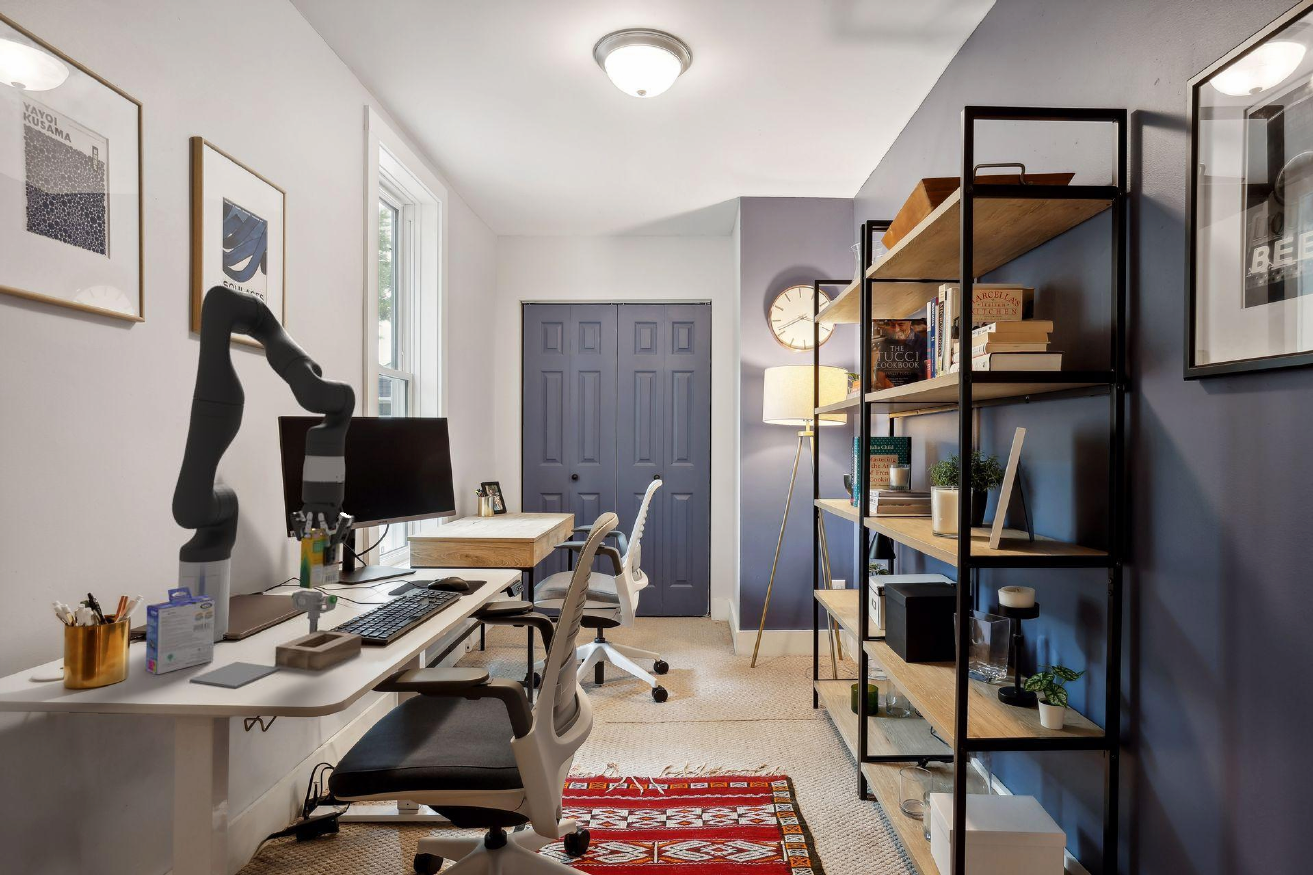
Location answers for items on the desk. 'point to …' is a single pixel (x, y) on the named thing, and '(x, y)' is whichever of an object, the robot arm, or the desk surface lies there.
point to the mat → (235, 674)
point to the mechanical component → (313, 605)
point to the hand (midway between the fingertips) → (320, 563)
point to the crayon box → (317, 562)
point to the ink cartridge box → (179, 632)
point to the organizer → (318, 650)
